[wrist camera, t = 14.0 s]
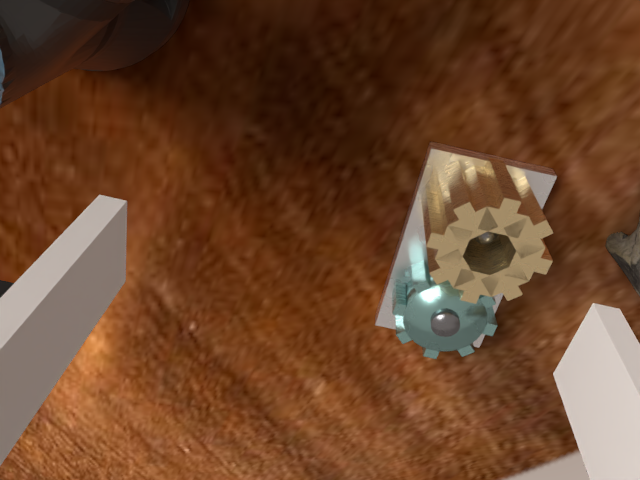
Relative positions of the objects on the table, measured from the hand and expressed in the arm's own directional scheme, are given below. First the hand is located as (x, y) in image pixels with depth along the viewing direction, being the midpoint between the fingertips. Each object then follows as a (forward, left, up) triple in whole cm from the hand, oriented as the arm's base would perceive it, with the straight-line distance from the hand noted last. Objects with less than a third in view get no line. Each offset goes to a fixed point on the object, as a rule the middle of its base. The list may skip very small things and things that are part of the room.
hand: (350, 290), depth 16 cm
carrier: (+19, -2, -31) cm, 36 cm away
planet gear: (+15, +1, -29) cm, 33 cm away
